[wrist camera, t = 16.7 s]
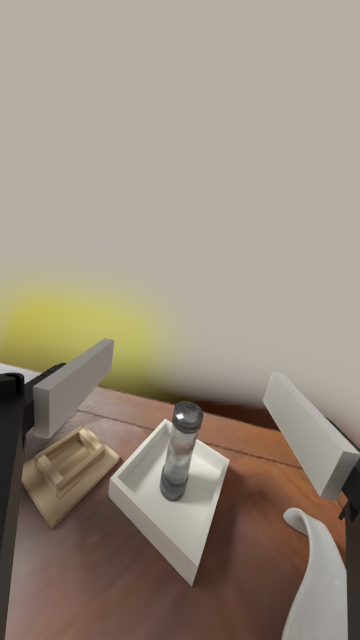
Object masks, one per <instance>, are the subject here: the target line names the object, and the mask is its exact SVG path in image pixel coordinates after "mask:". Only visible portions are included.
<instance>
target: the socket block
mask: <svg viewBox="0 0 360 640" xmlns="http://www.w3.org/2000/svg"><path fill="white" fill-rule="evenodd" d="M118 461H119V456H118V455H117V454H116V453H115V452H114V451H113V450H112V449H110V448H109V447H108V446H107V445H106V444H105V443H104V442H103V441H101V440H100V439H99V438H98V437H97V436H96V435H95V434H94V433H92V432H91V431H90V430H89V429H88V428H87V427H86V426H85V425H82V426H80V427H78V428H77V429H75V430H74V431H72V432H71V433H69V434H67V435H66V436H64V437H63V438H61V439H60V440H58V441H57V442H55V443H54V444H52V445H51V446H49V447H48V448H46V449H45V450H43V451H41V452H40V453H38V454H37V455H35V457H33V458H32V459H30V460H29V461H27V462H26V463H24V464H23V472H22V481H21V483H22V484H23V486H24V488H25V489H26V491H27V492H28V494H29V495H30V497H31V499H32V500H33V502H34V503H35V505H36V506H37V508H38V509H39V511H40V513H41V514H42V516H43V517H44V519H45V520H46V522H47V523H48V525H49V527H50V528H51V530H52V529H53V528H54V527H55V526H56V525H57V524H58V523H59V522H60V521H61V520H62V519H63V518H64V517H65V516H66V515H67V514H68V513H69V512H70V511H71V510H72V509H73V508H74V507H75V506H76V505H77V503H78V502H79V501H80V500H81V499H82V498H83V497H84V496H85V495H86V494H87V493H88V492H89V491H90V490H91V489H92V488H93V487H94V486H95V485H96V484H97V483H98V482H99V481H100V480H101V479H102V478H103V477H104V476H105V475H106V474H107V473H108V471H109V470H110V469H111V468H112V467H113V466H114V465H115V464H116V463H117V462H118Z"/></svg>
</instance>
